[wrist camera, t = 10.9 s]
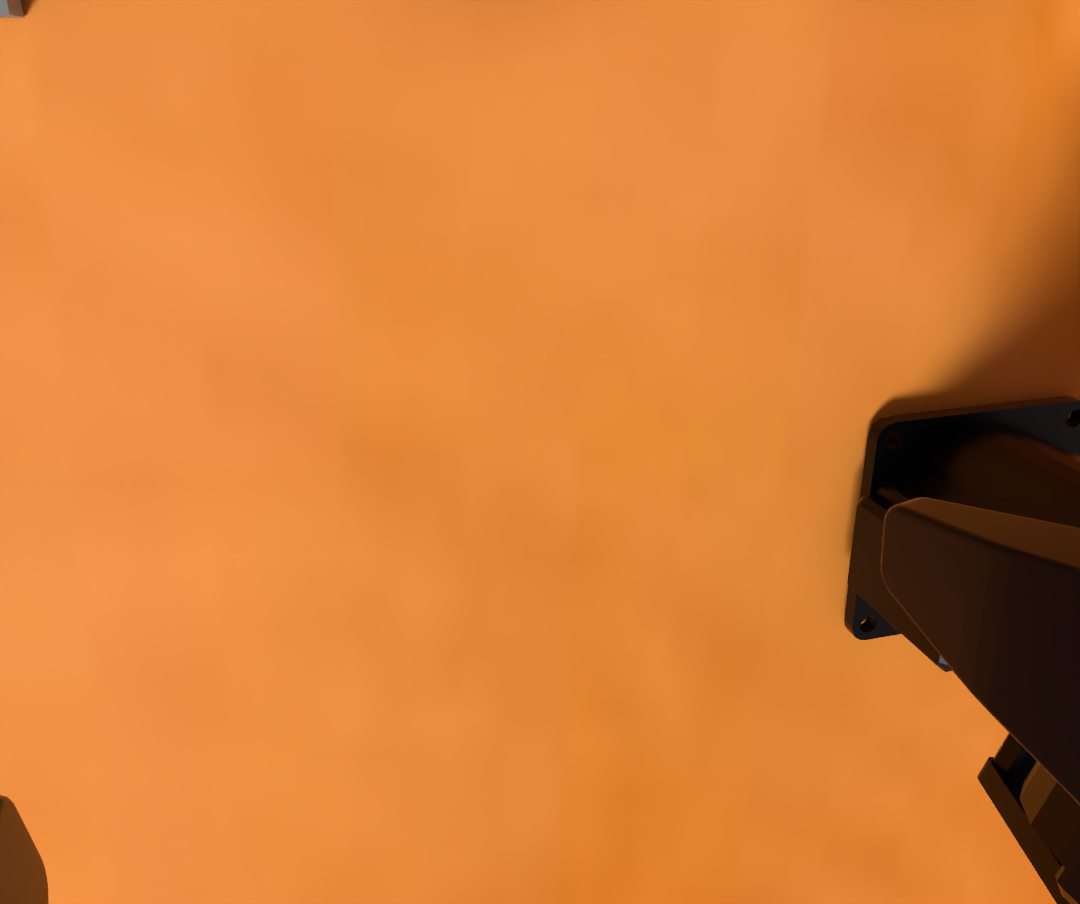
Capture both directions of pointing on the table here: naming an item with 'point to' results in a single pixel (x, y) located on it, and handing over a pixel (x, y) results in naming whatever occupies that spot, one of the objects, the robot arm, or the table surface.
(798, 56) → the table surface
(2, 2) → the slate socket block
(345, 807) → the table surface
